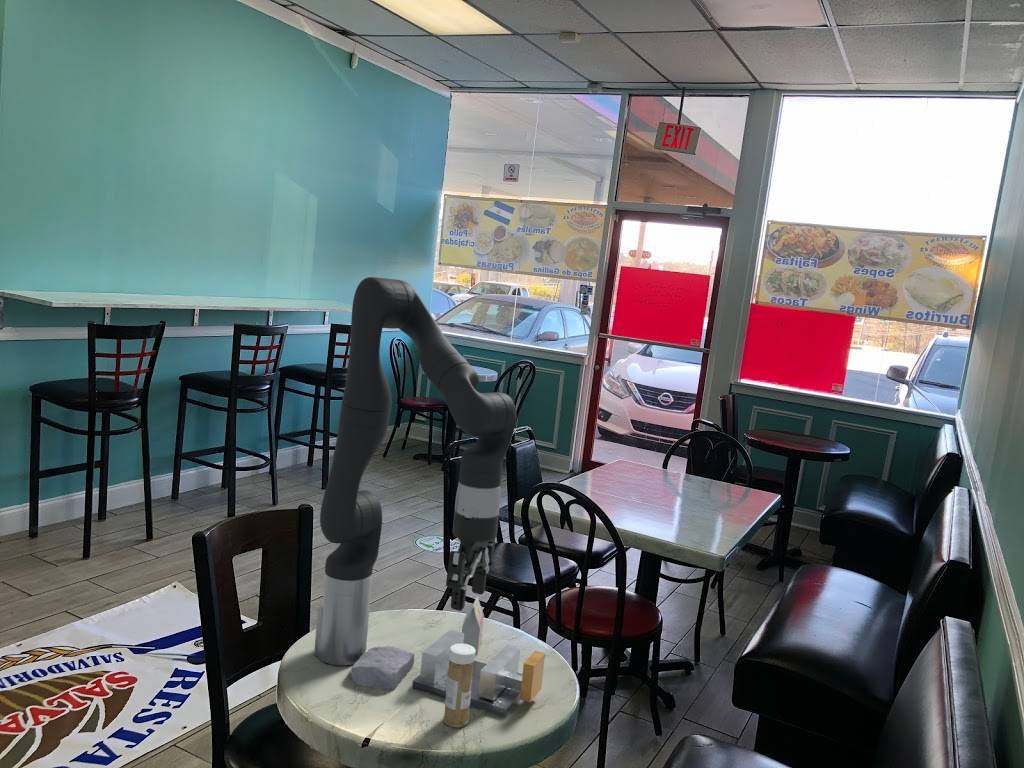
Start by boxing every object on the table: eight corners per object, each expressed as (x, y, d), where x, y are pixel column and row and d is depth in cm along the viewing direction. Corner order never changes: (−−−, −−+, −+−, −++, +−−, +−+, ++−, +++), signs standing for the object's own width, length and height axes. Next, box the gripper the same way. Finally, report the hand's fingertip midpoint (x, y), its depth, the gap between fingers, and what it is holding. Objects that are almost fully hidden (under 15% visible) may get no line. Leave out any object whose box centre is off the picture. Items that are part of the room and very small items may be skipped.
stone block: (346, 693, 152) (397, 693, 149) (344, 667, 151) (394, 667, 149) (371, 667, 163) (418, 667, 161) (368, 644, 163) (416, 643, 161)
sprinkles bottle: (471, 727, 140) (478, 653, 139) (445, 729, 139) (452, 654, 137) (465, 713, 145) (472, 642, 143) (440, 715, 143) (447, 642, 142)
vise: (411, 688, 152) (415, 652, 151) (445, 659, 165) (448, 626, 164) (505, 717, 145) (509, 680, 144) (532, 684, 158) (536, 650, 157)
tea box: (459, 653, 168) (464, 607, 167) (464, 639, 175) (468, 595, 174) (477, 655, 168) (481, 609, 167) (481, 641, 174) (485, 597, 173)
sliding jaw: (478, 696, 148) (481, 659, 147) (503, 669, 159) (506, 635, 158) (524, 709, 144) (528, 672, 144) (546, 682, 155) (550, 647, 155)
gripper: (474, 496, 145) (465, 583, 147) (438, 514, 132) (429, 609, 134) (512, 504, 143) (503, 593, 145) (480, 523, 129) (470, 620, 131)
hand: (467, 601), depth 139 cm, fingers open, 8 cm apart
